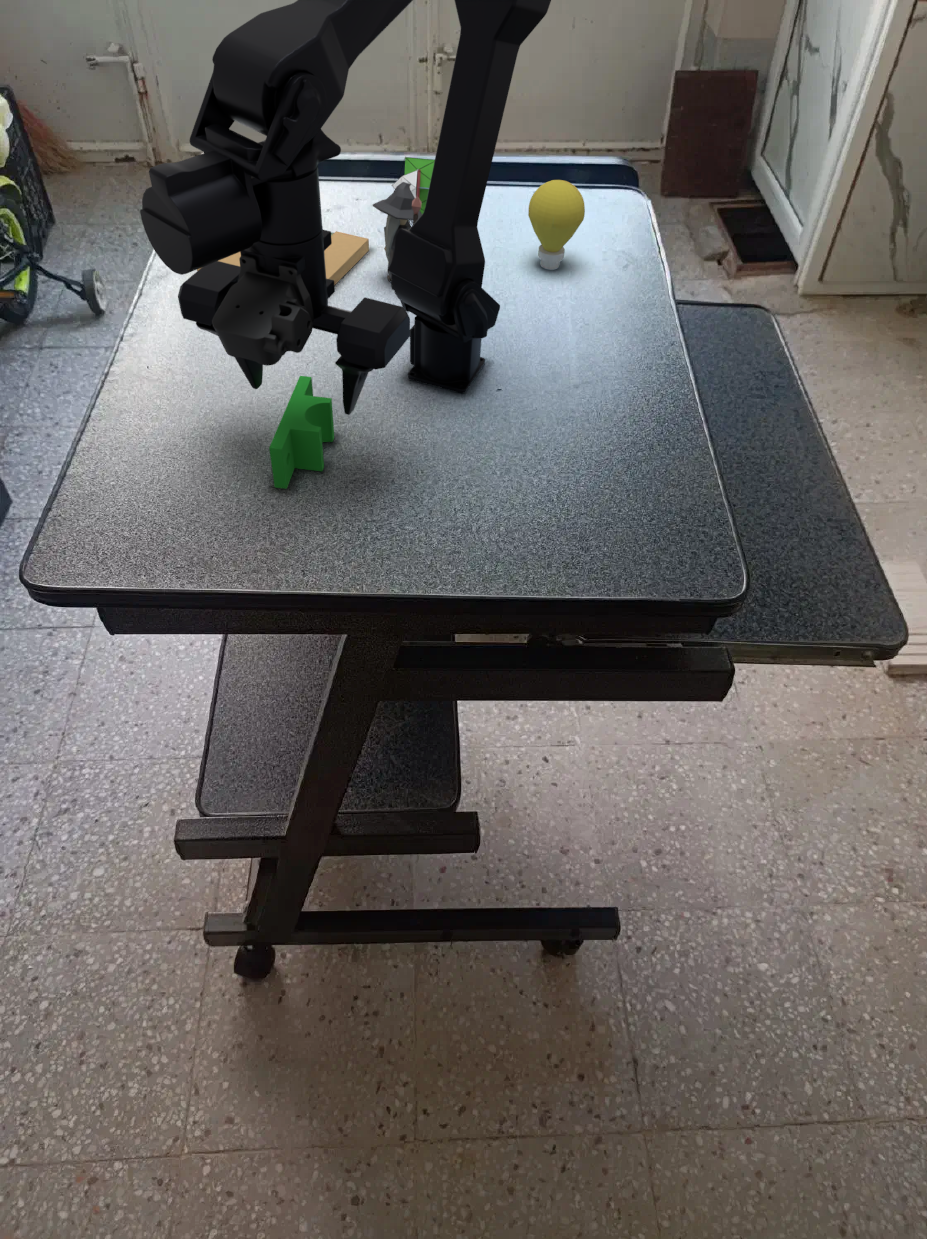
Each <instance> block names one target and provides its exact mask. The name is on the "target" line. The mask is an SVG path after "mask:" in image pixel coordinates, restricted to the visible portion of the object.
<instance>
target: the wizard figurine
mask: <svg viewBox="0 0 927 1239" xmlns="http://www.w3.org/2000/svg"><path fill="white" fill-rule="evenodd" d="M410 185H411V184H409V183H406V182H402V183H401V184H399V185H398V186H397V187H396V189H394V190H393V191H392V193H391V194H390V195H389V196H388V197H387V198H386V199H382V200H378V201H377V202H374V203H373V204H372V207H374V208H375V209H376V210H378V211H379V212H381V213H383V214H385V215H387V216H386V222H385V226H384V227H383V235H384V247H383V250H384V251H385V256H386V257H385V258H386V259H387V269H388V268H389V266H390V264H391V262H392V258H393V255H394V249H395V237H396V234H397V233H398V231H399V229H401V228H402V229H406V230H409V229H410V228H411V227H412V225H413V224H414V223H415V222H416V221H417V220H418V219H419V217H420V216H421V215H422V213H421V212H420V209H421V204H422V202H421V201H420V199H419V198H418V196H417V197H416V198H415V197H414V196H413V194H412V192H411V190H410ZM410 221H412V225H411V223H410ZM391 277H392V273H391V272H389V271H388V270H387V277H386V279H387V281H388V282H389V283H391Z"/></svg>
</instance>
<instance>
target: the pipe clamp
mask: <svg viewBox="0 0 927 1239" xmlns="http://www.w3.org/2000/svg"><path fill="white" fill-rule="evenodd" d="M313 389H314V388H313V377H312V376H305V375H299V377H298V379H297V381H296V384H295V386H294V389H293V390H292V393H291V396H290V398H289V399H288V400H289V401H288V403H287V405H286V408H285V410H284V412H283V414H282V416H281V419H280V422H279V424H278V426H277V428H276V430H275V433H274V435H273V438H272V440H271V442H270V445H269V447H268V451H269V457H270V464H271V472H272V478H273V486H274V488H277V489H286V490H287V489H288V486H289V484H290V482H291V479H292V477H293V474H294V472H295V469H299V470H307V471H316V472H323V471H324V468H325V460H324V449H323V447H324V446H323V443H333V442H334V440H335V424H334V412H333V410H334V409H333V398H332V397H325V396H315V395H314V390H313Z"/></svg>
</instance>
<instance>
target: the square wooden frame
mask: <svg viewBox="0 0 927 1239" xmlns="http://www.w3.org/2000/svg"><path fill="white" fill-rule="evenodd" d="M331 240H332V244H331V245H330V246H329V247H328V248H327V249H326V250H325V251H324V254H325V268H326V279H330V280H334V286H335V285H337V284H338V282H339V281H340V280H341V279H342V278H344V276H345V275H346V274H347V273H348V272H349V271H350V270H351V269H352V268H354V266H355V265H356V264H358V262H359V261H360V260H361V259H362V258H363V257H364V256H365V255H366V254H367V253H368V252H369V251H370V239H369V238H367V237H363V236H358V235H356V234H355V235H354V234H350V233H344V232H342V231H338V230H335V231H334V232H332V231H331ZM240 257H241V253H240V252H238V253H236V254H234V255H231V256H229V257H226V258H224V259H221V260H219V261H220V262H224V263H228V264H232V265H236V266H240V261H239V259H240ZM200 269H201V268H199V269H197V270H196V272H197V271H198V270H200Z"/></svg>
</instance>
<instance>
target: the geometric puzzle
mask: <svg viewBox="0 0 927 1239" xmlns="http://www.w3.org/2000/svg"><path fill="white" fill-rule="evenodd" d="M434 161H435V158H433V159H432V158H420V157H410V156H409V157H408V156H405V155H404V159H403V162H402V164H401V165H400V168H399V170H398V171H399V175H398V178H397V180H396V179H394V180H393V183H392V184H391V187H392V190H393V191H394V190H395V189H396V187H397V186H398V185H399V184H401V183H402V182H406V183H409V184H411V185H410V190H411V192H412V194H413V196H414V197H415V198H416V197H417V196H418V198H419V199H420V201H421V202H422V204H421V209H420V212H421V213H422V214H423V212H424V209H425V206H426V201H427V196H428V191H429V186H430V181H431V176H432V171H433V166H434ZM403 166H404V175H401V174H402V171H403ZM400 169H401V170H400Z"/></svg>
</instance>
